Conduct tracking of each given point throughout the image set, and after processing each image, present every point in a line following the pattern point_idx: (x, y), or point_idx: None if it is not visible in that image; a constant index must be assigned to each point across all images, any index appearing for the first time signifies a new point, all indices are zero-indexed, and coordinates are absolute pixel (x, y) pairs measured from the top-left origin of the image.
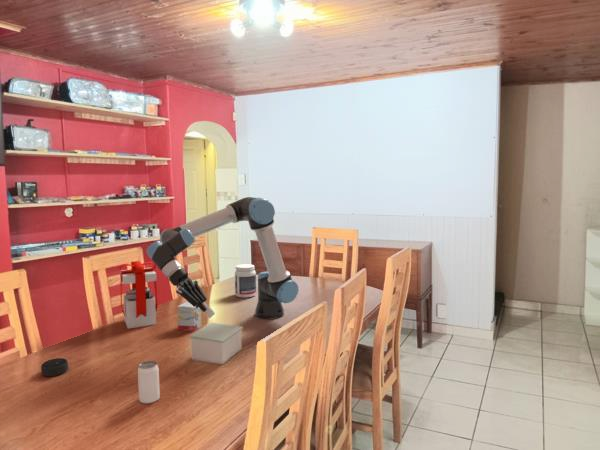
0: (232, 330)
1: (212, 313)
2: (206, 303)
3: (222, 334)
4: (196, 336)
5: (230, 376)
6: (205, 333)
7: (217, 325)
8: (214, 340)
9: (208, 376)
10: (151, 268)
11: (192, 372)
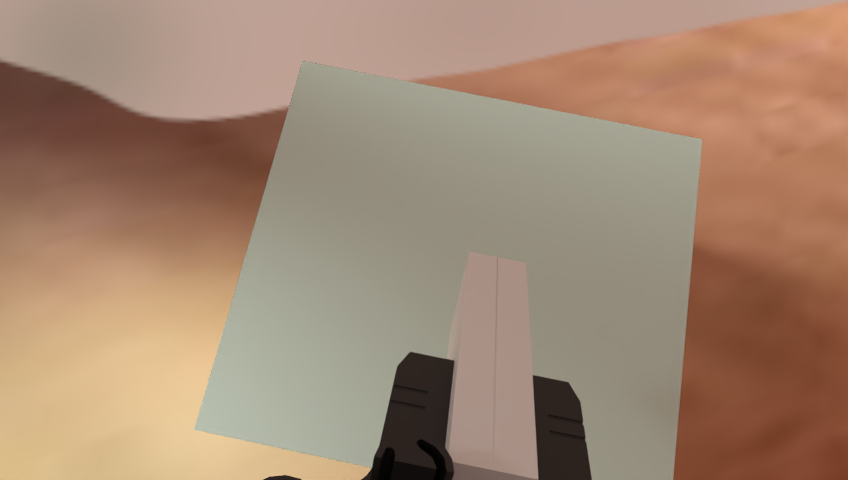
0: (416, 127)
1: (523, 273)
2: (455, 410)
3: (545, 190)
4: (671, 442)
5: (761, 122)
6: (560, 374)
7: (289, 325)
8: (692, 226)
9: (800, 254)
10: None
11: (776, 385)
